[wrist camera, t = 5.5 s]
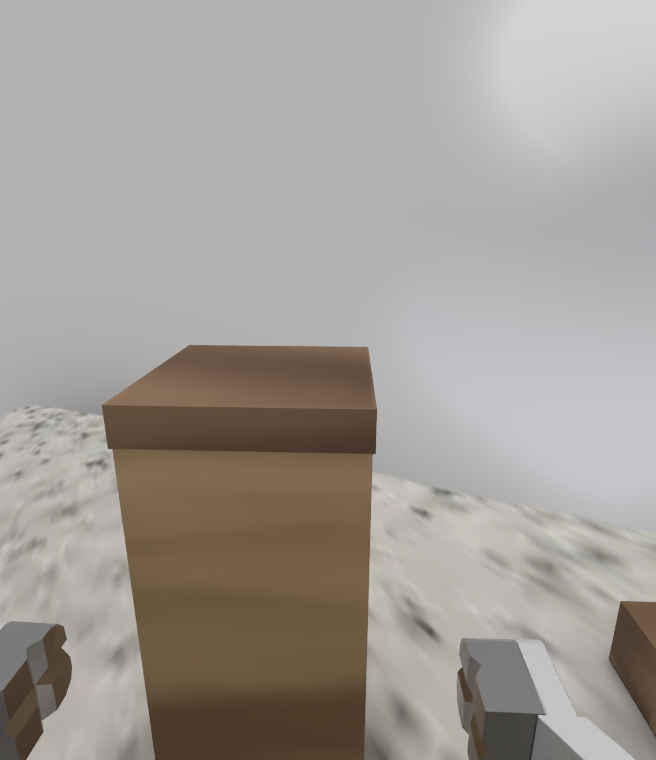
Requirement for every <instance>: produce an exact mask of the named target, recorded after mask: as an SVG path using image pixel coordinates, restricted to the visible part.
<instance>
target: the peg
mask: <svg viewBox="0 0 656 760" xmlns="http://www.w3.org/2000/svg"><path fill="white" fill-rule="evenodd" d="M102 409H103V416H104V423H105V430H106V437H107V444H108V449H113V456H114V463H115V471H116V478H117V485H118V492H119V500H120V507H121V514H122V521H123V528H124V536H125V543H126V550H127V557H128V565H129V572H130V579H131V586H132V594H133V601H134V608H135V615H136V622H137V630H138V637H139V644H140V651H141V659H142V666H143V673H144V680H145V688H146V695H147V702H148V709H149V717H150V724H151V731H152V738H153V745H154V753H155V760H364V736H365V701H366V665H367V629H368V594H369V558H370V522H371V487H372V454H375V452H376V422H377V421H376V420H377V407H376V400H375V393H374V386H373V379H372V373H371V365H370V358H369V351H368V347H313V346H312V347H311V346H211V345H189V346H187V347H186V348H184V349H183V350H182V351H180V352H179V353H177V354H176V355H174V356H173V357H171V358H170V359H168V360H167V361H166V362H164V363H163V364H161V365H160V366H158V367H157V368H155V369H154V370H153V371H151V372H149V373H148V374H147V375H145V376H144V377H142V378H141V379H139V380H138V381H136V382H135V383H133V384H132V385H131V386H129V387H128V388H126V389H125V390H123V391H122V392H120V393H119V394H117V395H116V396H114V397H113V398H112V399H110V400H109V401H107V402H106V403H104V404H103V405H102Z"/></svg>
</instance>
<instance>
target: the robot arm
mask: <svg viewBox="0 0 656 760" xmlns="http://www.w3.org/2000/svg"><path fill="white" fill-rule="evenodd" d="M66 640H67V638H66V634H65V630H64V626H61V625H58V624H46V623H30V622H15V621H12V622H6V621H0V760H26V759H27V757H28V756H29V754H30V752H31V751H32V749H33V748H34V746H35V744H36V743H37V741H38V740H39V738H40V736H41V735H42V733H43V720H44V719H45V718H46V717H48V716H49V715H50V714H52V713H53V712H55V711H56V710H57V709H58V707H59V706H60V704H61V702H62V701H63V699H64V697H65V696H66V693H67V690H68V687H69V684H70V681H71V672H72V665H71V659H70V656H69V655H68V654H67V653H66V652H65V651H64V650H63V649H62V648H61V647H62V646H63V644H64V643H65V641H66ZM459 655H460V659H461V663H462V668H461V669H460V670H459V671H458V674H457V702H458V708H459V715H460V720H461V724H462V728H463V729H464V730H465V731H466V732H467V733H468V734H469V740H468V756H469V760H636V759H635V758H633V757H632V756H631V755H630V754H629V753H628V752H626V751H625V750H624V749H623V748H622V747H620V746H619V745H618V744H617V743H616V742H615V741H613V740H612V739H611V738H610V737H609V736H608V735H606V734H605V733H604V732H603V731H602V730H601V729H599V728H598V727H597V726H596V725H595V724H594V723H592V722H591V721H590V720H589V719H588V718H587V717H578V716H577V714H576V711H575V709H574V707H573V705H572V703H571V701H570V699H569V697H568V695H567V692H566V690H565V688H564V686H563V684H562V682H561V680H560V678H559V676H558V673H557V671H556V669H555V667H554V665H553V663H552V661H551V659H550V657H549V655H548V652H547V650H546V648H545V646H544V644H543V643H542V642H541V641H540V640H520V639H514V640H511V639H474V638H462V641H461V643H460V652H459Z"/></svg>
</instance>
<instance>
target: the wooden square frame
mask: <svg viewBox="0 0 656 760" xmlns="http://www.w3.org/2000/svg"><path fill="white" fill-rule="evenodd" d="M609 659H610V661H611V663H612V664H613V666H614V668H615V669H616V671H617V672H618V674H619V676H620V677H621V679H622V681H623V682H624V684H625V686H626V687H627V689H628V691H629V692H630V694H631V696H632V697H633V699H634V701H635V702H636V704H637V705H638V707H639V709H640V710H641V712H642V714H643V715H644V717H645V719H646V720H647V722H648V724H649V725H650V727H651V729H652V730H653V732H654V734H655V735H656V602H631V601H621V603H620V607H619V612H618V617H617V622H616V627H615V632H614V636H613V641H612V646H611V651H610V656H609Z"/></svg>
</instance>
